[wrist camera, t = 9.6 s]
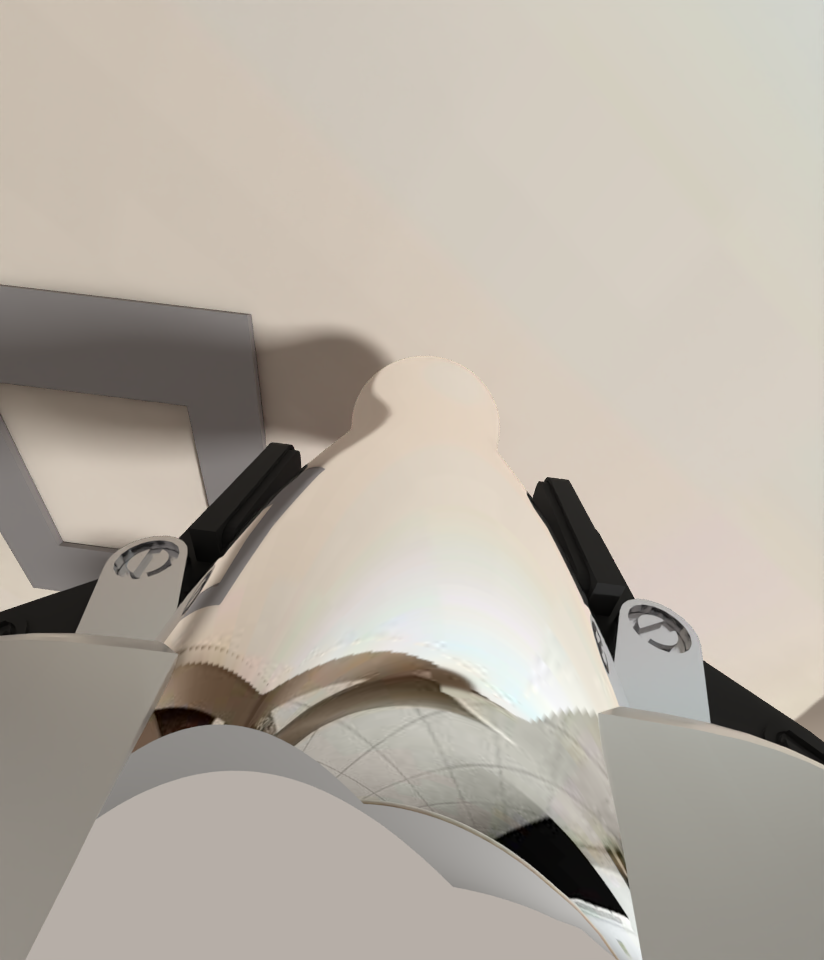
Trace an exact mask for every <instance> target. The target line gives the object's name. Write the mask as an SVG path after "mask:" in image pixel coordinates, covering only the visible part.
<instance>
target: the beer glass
mask: <svg viewBox="0 0 824 960" xmlns="http://www.w3.org/2000/svg"><path fill="white" fill-rule="evenodd" d="M499 435H500V419H499V413H498V409H497V406H496V403H495V401H494V399H493V397H492V395H491V393H490V391H489V390H488V388H487V387H486V385H485V384H484V383H483V382H482V380H481V379H480V378H479V377H478V376H477V375H476V374H474V373H473V372H472V371H471V370H469V369H468V368H466V367H465V366H463V365H461V364H459V363H457V362H454V361H452V360H449V359H445V358H441V357H436V356H414V357H408V358H404V359H401V360H398V361H395V362H393V363H391V364H389V365H387V366H385V367H384V368H382V369H381V370H379V371H378V372H377V373H376V374H374V375H373V376H372V377H371V378H370V379H369V380H368V382H367V383H366V384H365V385H364V387H363V388H362V390H361V392H360V394H359V396H358V398H357V400H356V403H355V406H354V409H353V415H352V423H351V430H349V431H348V432H347V433H346V434H345V435H343V436H342V437H341V438H339V439H338V440H337V441H335V442H334V443H333V444H332V445H330V446H329V447H328V448H326V449H325V450H324V451H323V452H321V453H320V454H319V455H318V456H316V457H315V458H314V459H313V460H311V461H310V462H309V463H308V464H306V465H305V466H304V467H303V468H301V469H300V470H299V471H298V472H297V473H295V474H294V475H293V476H292V477H291V478H290V479H289V480H288V481H287V482H286V483H285V484H284V485H283V486H282V487H280V488H279V489H278V490H277V491H276V492H275V493H274V494H273V495H272V496H271V497H270V498H269V499H268V500H267V501H266V502H264V503H263V504H262V505H261V506H260V507H259V508H258V509H257V510H256V511H255V512H254V513H253V514H252V515H251V517H250V518H249V519H248V520H247V521H246V523H245V524H244V525H243V526H242V527H241V528H240V530H239V531H238V532H237V533H236V534H235V536H234V537H233V538H232V539H231V540H230V542H229V543H228V544H227V545H226V546H225V548H224V549H223V550H222V551H221V552H220V554H219V555H218V556H217V557H216V558H215V559H214V561H213V562H212V563H211V564H210V565H209V567H208V568H207V569H206V570H205V571H204V573H203V574H202V575H201V577H200V578H199V579H198V581H197V582H196V584H195V585H194V586H193V588H192V589H191V590H190V592H189V593H188V595H187V596H186V597H185V599H184V600H183V601H182V603H181V604H180V606H179V607H178V608H177V610H176V611H175V612H174V614H173V615H172V617H171V618H170V619H169V621H168V622H167V623H166V625H165V626H164V628H163V629H162V630H161V632H160V633H159V634H158V636H157V637H156V639H155V640H154V641H159V642H163V643H164V644H165V645H167V646H168V647H169V648H171V649H172V650H173V651H175V652H176V653H177V654H178V655H177V657H176V659H175V661H174V663H173V665H172V667H171V669H170V671H169V672H168V674H167V676H166V678H165V680H164V682H163V684H162V686H161V688H160V690H159V692H158V694H157V696H156V698H155V700H154V701H153V703H152V705H151V707H150V709H149V711H148V713H147V715H146V717H145V719H144V721H143V723H142V725H141V727H140V729H139V731H138V733H137V735H136V737H135V739H134V741H133V743H132V745H131V747H130V749H129V751H128V753H127V755H126V757H125V759H124V761H123V764H122V766H121V768H120V770H119V772H118V774H117V776H116V778H115V780H114V782H113V784H112V786H111V788H110V790H109V792H108V794H107V796H106V798H105V800H104V802H103V804H102V806H101V808H100V810H99V813H98V815H97V817H96V819H95V821H94V823H93V825H92V827H91V829H90V832H89V834H88V836H87V838H86V840H85V842H84V844H83V846H82V848H81V850H80V852H79V855H78V857H77V859H76V861H75V863H74V865H73V867H72V869H71V871H70V873H69V875H68V877H67V879H66V881H65V883H64V885H63V887H62V889H61V891H60V892H59V894H58V896H57V898H56V900H55V902H54V904H53V906H52V908H51V910H50V912H49V914H48V916H47V918H46V920H45V922H44V924H43V926H42V928H41V930H40V932H39V934H38V936H37V938H36V940H35V942H34V944H33V946H32V948H31V950H30V952H29V954H28V956H27V958H26V960H642V955H641V950H640V944H639V938H638V933H637V927H636V921H635V916H634V910H633V904H632V899H631V893H630V887H629V881H628V875H627V869H626V863H625V857H624V851H623V845H622V839H621V833H620V827H619V821H618V815H617V809H616V803H615V797H614V791H613V785H612V780H611V775H610V770H609V765H608V760H607V755H606V750H605V745H604V740H603V735H602V730H601V725H600V720H599V715H598V713H600V712H603V711H606V710H609V709H612V708H616V707H620V706H622V707H628V708H631V707H630V704H629V702H628V699H627V696H626V694H625V691H624V688H623V685H622V683H621V680H620V677H619V675H618V672H617V669H616V667H615V664H614V661H613V658H612V656H611V653H610V650H609V648H608V645H607V642H606V640H605V637H604V634H603V632H602V629H601V627H600V625H599V623H598V620H597V618H596V616H595V614H594V612H593V609H592V607H591V605H590V603H589V601H588V598H587V596H586V594H585V592H584V590H583V587H582V585H581V583H580V581H579V578H578V576H577V574H576V572H575V570H574V567H573V565H572V563H571V561H570V559H569V557H568V555H567V553H566V551H565V550H564V548H563V547H562V545H561V543H560V542H559V540H558V538H557V537H556V535H555V533H554V532H553V530H552V528H551V527H550V525H549V523H548V522H547V520H546V519H545V517H544V515H543V514H542V512H541V510H540V509H539V507H538V505H537V504H536V503H535V501H534V500H533V498H532V497H531V496H530V494H529V493H528V491H527V490H526V489H525V487H524V486H523V484H522V483H521V482H520V480H519V479H518V478H517V476H516V475H515V473H514V472H513V471H512V469H511V468H510V467H509V466H508V464H507V463H506V462H505V460H504V459H503V458H502V456H501V455H500V454H499V452H498V451H497V448H498V442H499Z"/></svg>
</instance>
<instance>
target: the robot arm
mask: <svg viewBox="0 0 824 960" xmlns="http://www.w3.org/2000/svg"><path fill="white" fill-rule="evenodd" d="M300 469H301V456H300V452H299V451H297V450H294V447H293V445H289V444H281V443H273V442H272V443H270V444H269V445H268V446H267V447H266V448H265V449H264V450H263V451H262V452H261V453H260V454H259V456H258V457H257V458H256V459H255V460H254V461H253V462H252V463H251V464H250V465H249V466H248V467H247V468H246V469H245V470H244V471H243V472H242V473H241V474H240V475H239V476H238V477H237V478H236V479H235V480H234V481H233V482H232V484H231V485H230V486H229V487H228V488H227V489H226V490H225V491H224V492H223V493H222V494H221V495H220V496H219V497H218V498H217V499H216V500H215V501H214V502H213V503H212V504H211V505H210V506H209V507H208V508H207V509H206V510H205V511H204V513H203V514H202V515H201V516H200V517H199V518H198V519H197V520H196V521H195V522H194V523H193V524H192V525H191V526H190V527H189V528H188V529H187V530H186V531H185V532H184V533H183V534H182V535H181V536H180V538H179V539H178V538H176V537H171V536H153V537H148V538H144V539H140V540H138V541H135V542H132V543H130V544H128V545H126V546H124V547H123V548H121V549H119V550H118V551H117V552H115V553H114V554H113V555H112V556H111V557H110V558H109V559H108V561H107V562H106V564H105V566H104V568H103V570H102V572H101V575H100V577H99V579H96V580H93V581H90V582H88V583H85V584H82V585H79V586H76V587H73V588H70V589H67V590H64V591H61V592H58V593H55V594H52V595H49V596H46V597H43V598H40V599H37V600H34V601H31V602H28V603H25V604H23V605H20V606H17V607H14V608H11V609H8V610H5V611H2V612H0V960H26V958H27V956H28V954H29V952H30V950H31V948H32V946H33V944H34V942H35V940H36V938H37V936H38V934H39V932H40V930H41V928H42V926H43V924H44V922H45V920H46V918H47V916H48V914H49V912H50V910H51V908H52V906H53V904H54V902H55V900H56V898H57V896H58V894H59V892H60V891H61V889H62V887H63V885H64V883H65V881H66V879H67V877H68V875H69V873H70V871H71V869H72V867H73V865H74V863H75V861H76V859H77V857H78V855H79V852H80V850H81V848H82V846H83V844H84V842H85V840H86V838H87V836H88V834H89V832H90V829H91V827H92V825H93V823H94V821H95V819H96V817H97V815H98V813H99V810H100V808H101V806H102V804H103V802H104V800H105V798H106V796H107V794H108V792H109V790H110V788H111V786H112V784H113V782H114V780H115V778H116V776H117V774H118V772H119V770H120V768H121V766H122V764H123V761H124V759H125V757H126V755H127V753H128V751H129V749H130V747H131V745H132V743H133V741H134V739H135V737H136V735H137V733H138V731H139V729H140V727H141V725H142V723H143V721H144V719H145V717H146V715H147V713H148V711H149V709H150V707H151V705H152V703H153V701H154V700H155V698H156V696H157V694H158V692H159V690H160V688H161V686H162V684H163V682H164V680H165V678H166V676H167V674H168V672H169V671H170V669H171V667H172V665H173V663H174V661H175V659H176V657H177V655H178V654H177V653H176V652H175V651H173V650H172V649H171V648H169V647H168V646H167V645H165V644H164V643H163V642H159V641H154V640H155V639H156V637H157V636H158V634H159V633H160V632H161V630H162V629H163V628H164V626H165V625H166V623H167V622H168V621H169V619H170V618H171V617H172V615H173V614H174V612H175V611H176V610H177V608H178V607H179V606H180V604H181V603H182V601H183V600H184V599H185V597H186V596H187V595H188V593H189V592H190V590H191V589H192V588H193V586H194V585H195V584H196V582H197V581H198V579H199V578H200V577H201V575H202V574H203V573H204V571H205V570H206V569H207V568H208V567H209V565H210V564H211V563H212V562H213V561H214V559H215V558H216V557H217V556H218V555H219V554H220V552H221V551H222V550H223V549H224V548H225V546H226V545H227V544H228V543H229V542H230V540H231V539H232V538H233V537H234V536H235V534H236V533H237V532H238V531H239V530H240V528H241V527H242V526H243V525H244V524H245V523H246V521H247V520H248V519H249V518H250V517H251V515H252V514H253V513H254V512H255V511H256V510H257V509H258V508H259V507H260V506H261V505H262V504H263V503H264V502H266V501H267V500H268V499H269V498H270V497H271V496H272V495H273V494H274V493H275V492H276V491H277V490H278V489H279V488H280V487H282V486H283V485H284V484H285V483H286V482H287V481H288V480H289V479H290V478H291V477H292V476H293V475H294V474H295V473H297V472H298V471H299V470H300ZM533 500H534V501H535V503H536V504H537V505H538V507H539V509H540V510H541V512H542V514H543V515H544V517H545V519H546V520H547V522H548V523H549V525H550V527H551V528H552V530H553V532H554V533H555V535H556V537H557V538H558V540H559V542H560V543H561V545H562V547H563V548H564V550H565V551H566V553H567V555H568V557H569V559H570V561H571V563H572V565H573V567H574V570H575V572H576V574H577V576H578V578H579V581H580V583H581V585H582V587H583V590H584V592H585V594H586V596H587V598H588V601H589V603H590V605H591V607H592V609H593V612H594V614H595V616H596V618H597V620H598V623H599V625H600V627H601V629H602V632H603V634H604V637H605V640H606V642H607V645H608V648H609V650H610V653H611V656H612V658H613V661H614V664H615V667H616V669H617V672H618V675H619V677H620V680H621V683H622V685H623V688H624V691H625V694H626V696H627V699H628V702H629V704H630V707H631V708H628V707H622V706H620V707H616V708H612V709H609V710H606V711H603V712H600V713H598V715H599V720H600V725H601V730H602V735H603V740H604V745H605V750H606V755H607V760H608V765H609V770H610V775H611V780H612V785H613V791H614V797H615V803H616V809H617V815H618V821H619V827H620V833H621V839H622V845H623V851H624V857H625V863H626V869H627V875H628V881H629V887H630V893H631V899H632V904H633V910H634V916H635V921H636V927H637V933H638V938H639V944H640V950H641V955H642V960H824V742H823V741H822V740H820V739H819V738H818V737H816V736H815V735H814V734H812V733H811V732H810V731H808V730H807V729H805V728H804V727H802V726H801V725H799V724H798V723H796V722H795V721H793V720H792V719H790V718H789V717H787V716H786V715H784V714H783V713H781V712H780V711H778V710H777V709H775V708H774V707H772V706H771V705H769V704H768V703H766V702H765V701H763V700H762V699H760V698H759V697H757V696H756V695H754V694H753V693H751V692H750V691H748V690H747V689H745V688H744V687H742V686H741V685H739V684H738V683H736V682H735V681H733V680H732V679H730V678H729V677H727V676H726V675H724V674H723V673H721V672H720V671H718V670H717V669H715V668H714V667H712V666H711V665H709V664H708V663H706V662H705V661H703V658H702V650H701V644H700V641H699V638H698V636H697V634H696V633H695V631H694V630H693V629H692V627H691V626H690V625H689V624H688V623H687V622H686V621H685V620H684V619H683V618H682V617H680V616H679V615H678V614H676V613H675V612H673V611H672V610H671V609H669V608H667V607H665V606H663V605H661V604H659V603H655V602H652V601H649V600H644V599H635V598H634V597H633V595H632V593H631V591H630V589H629V587H628V586H627V584H626V582H625V580H624V578H623V576H622V575H621V573H620V571H619V569H618V567H617V565H616V564H615V562H614V560H613V558H612V556H611V554H610V552H609V551H608V549H607V547H606V545H605V543H604V541H603V540H602V538H601V536H600V534H599V533H598V531H597V530H596V529H595V528H594V526H593V524H592V522H591V520H590V518H589V516H588V515H587V513H586V511H585V509H584V507H583V505H582V503H581V502H580V500H579V498H578V496H577V494H576V492H575V490H574V489H573V487H572V485H571V483H570V481H569V480H565V479H558V478H550V477H547V478H546V479H545V481H544V482H541V481H539V482H538V484H537V486H536V489H535V492H534V495H533Z"/></svg>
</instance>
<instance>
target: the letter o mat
mask: <svg viewBox="0 0 824 960" xmlns="http://www.w3.org/2000/svg"><path fill="white" fill-rule="evenodd" d="M0 383H7V384H15V385H23V386H31V387H39V388H47V389H55V390H63V391H71V392H79V393H87V394H95V395H104V396H112V397H120V398H128V399H136V400H144V401H152V402H160V403H168V404H176V405H184V406H187V408H188V413H189V417H190V422H191V427H192V431H193V436H194V440H195V445H196V449H197V454H198V458H199V463H200V467H201V472H202V476H203V481H204V486H205V490H206V495H207V499H208V504H209V506H210V505H211V504H212V503H213V502H214V501H215V500H216V499H217V498H218V497H219V496H220V495H221V494H222V493H223V492H224V491H225V490H226V489H227V488H228V487H229V486H230V485H231V484H232V482H233V481H234V480H235V479H236V478H237V477H238V476H239V475H240V474H241V473H242V472H243V471H244V470H245V469H246V468H247V467H248V466H249V465H250V464H251V463H252V462H253V461H254V460H255V459H256V458H257V457H258V456H259V454H260V453H261V452H262V451H263V450H264V449H265V448H266V440H265V432H264V423H263V414H262V405H261V396H260V388H259V379H258V370H257V361H256V352H255V344H254V335H253V326H252V317H251V314H244V313H236V312H227V311H219V310H210V309H202V308H193V307H185V306H177V305H168V304H160V303H151V302H143V301H134V300H126V299H118V298H109V297H101V296H92V295H84V294H75V293H67V292H59V291H50V290H42V289H33V288H25V287H16V286H8V285H0ZM0 532H1V534H2V536H3V537H4V539H5V541H6V542H7V544H8V546H9V548H10V549H11V551H12V553H13V554H14V556H15V558H16V559H17V561H18V563H19V564H20V566H21V568H22V569H23V571H24V573H25V574H26V576H27V578H28V579H29V581H30V583H31V584H32V586H33V588H40V589H48V590H55V591H64V590H67V589H70V588H73V587H76V586H79V585H82V584H85V583H88V582H90V581H93V580H96V579H99V577H100V575H101V572H102V570H103V568H104V566H105V564H106V562H107V561H108V559H109V558H110V557H111V556H112V555H113V554H114V553H115V552H117V551H118V550H119V549H112V548H105V547H97V546H90V545H82V544H75V543H67V542H63V541H62V539H61V537H60V535H59V533H58V531H57V529H56V527H55V525H54V523H53V521H52V519H51V517H50V515H49V512H48V510H47V508H46V506H45V504H44V502H43V500H42V498H41V496H40V494H39V492H38V490H37V488H36V486H35V484H34V482H33V480H32V478H31V476H30V474H29V472H28V470H27V468H26V466H25V464H24V462H23V460H22V458H21V456H20V454H19V452H18V450H17V448H16V446H15V444H14V442H13V440H12V438H11V436H10V434H9V432H8V429H7V427H6V425H5V423H4V421H3V419H2V417H1V415H0Z"/></svg>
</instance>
